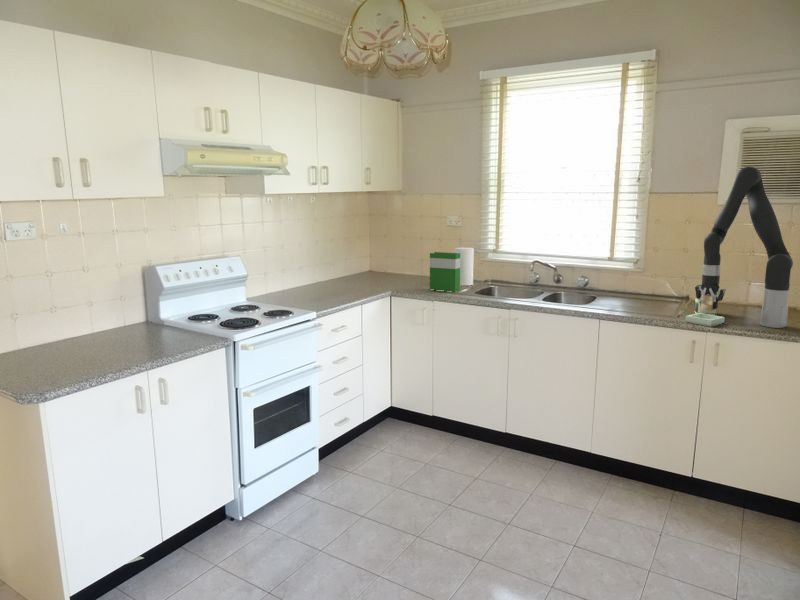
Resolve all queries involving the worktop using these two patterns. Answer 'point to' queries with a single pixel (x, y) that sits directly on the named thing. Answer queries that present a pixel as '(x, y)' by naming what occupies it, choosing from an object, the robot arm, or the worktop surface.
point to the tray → (704, 319)
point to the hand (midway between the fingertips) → (708, 308)
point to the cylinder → (466, 265)
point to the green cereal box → (445, 271)
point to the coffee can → (698, 307)
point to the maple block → (707, 303)
